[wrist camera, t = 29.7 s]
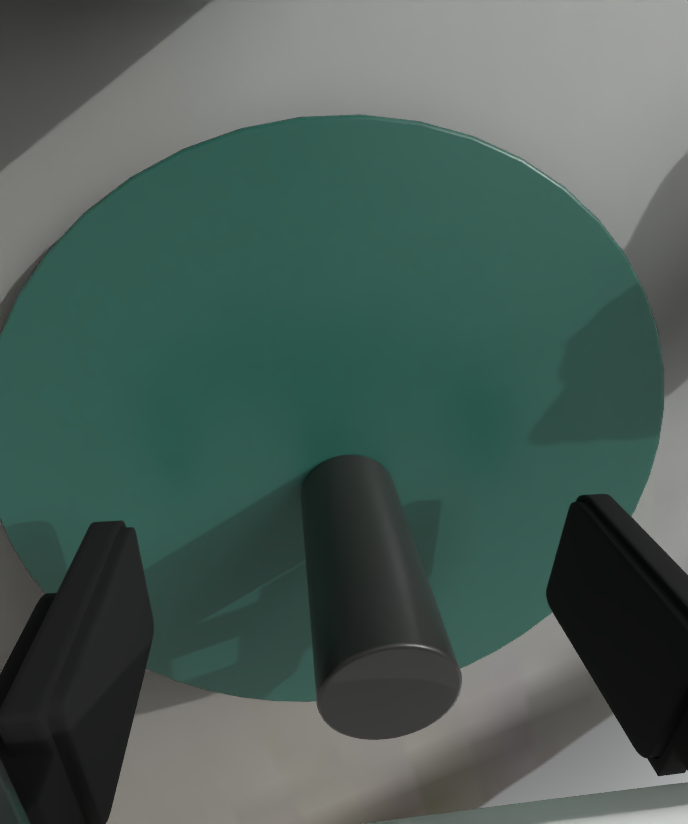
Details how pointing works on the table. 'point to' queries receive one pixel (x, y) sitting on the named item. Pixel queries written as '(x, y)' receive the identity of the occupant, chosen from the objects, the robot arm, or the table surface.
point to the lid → (329, 405)
